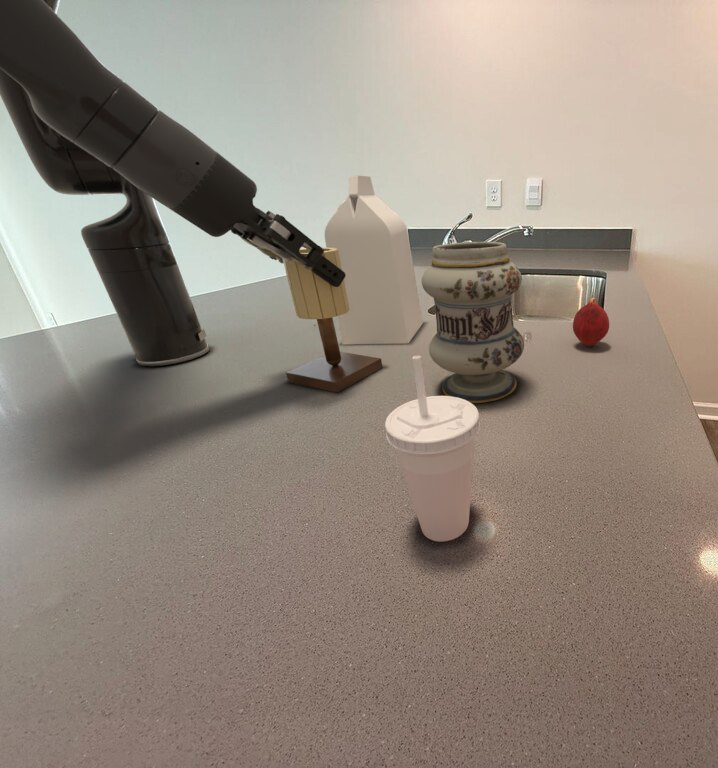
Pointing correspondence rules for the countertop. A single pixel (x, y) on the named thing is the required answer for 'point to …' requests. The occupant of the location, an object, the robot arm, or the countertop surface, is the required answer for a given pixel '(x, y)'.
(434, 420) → the smoothie
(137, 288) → the robot arm
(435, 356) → the apothecary jar
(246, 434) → the countertop surface
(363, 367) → the stand
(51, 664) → the countertop surface
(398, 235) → the milk
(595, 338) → the onion
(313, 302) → the wooden slatted cup
